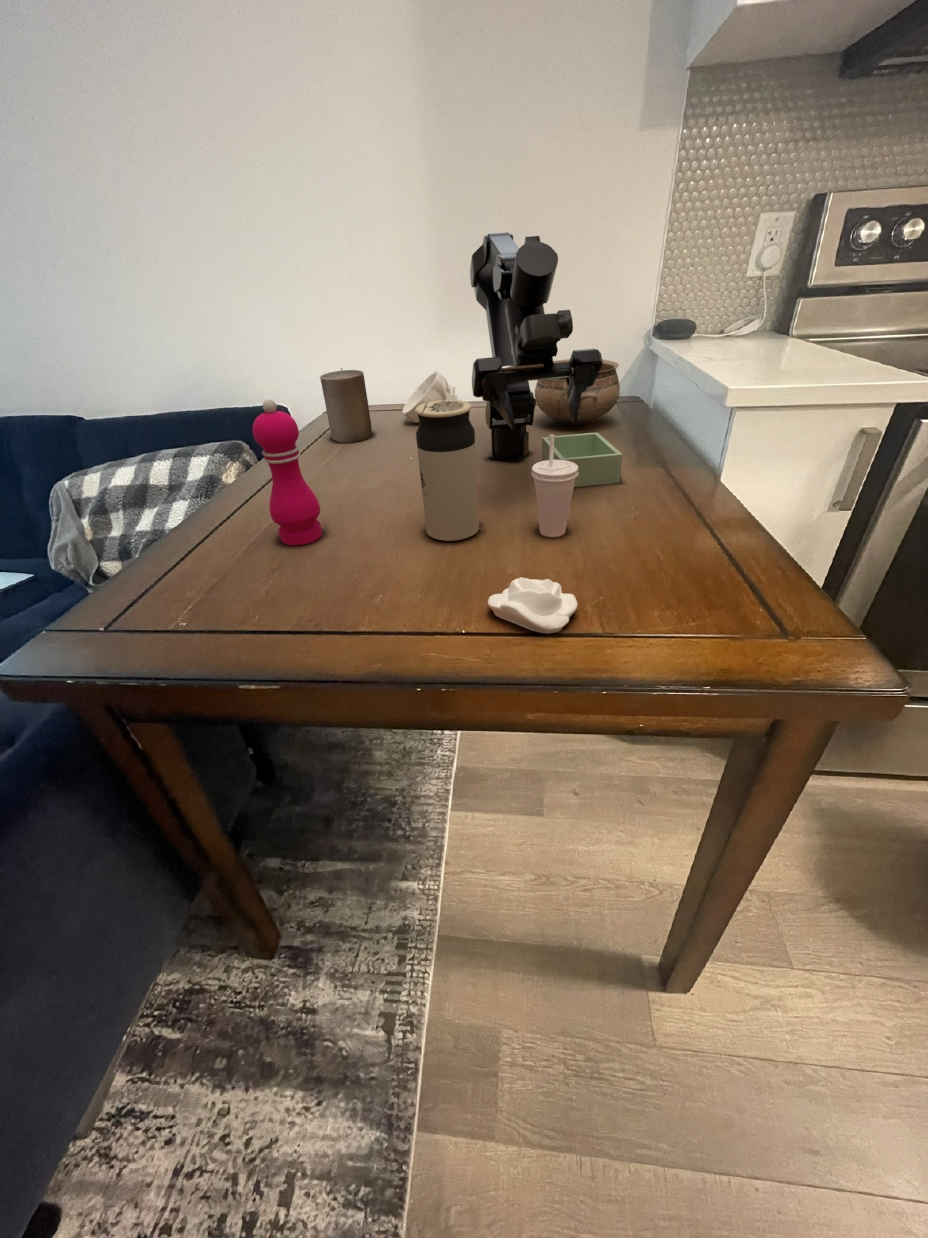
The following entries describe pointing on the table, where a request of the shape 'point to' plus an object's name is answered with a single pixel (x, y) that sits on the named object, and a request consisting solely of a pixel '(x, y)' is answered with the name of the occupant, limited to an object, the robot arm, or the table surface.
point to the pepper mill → (287, 477)
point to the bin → (587, 457)
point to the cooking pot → (592, 400)
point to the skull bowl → (429, 394)
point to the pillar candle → (347, 405)
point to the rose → (534, 605)
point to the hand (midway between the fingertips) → (544, 424)
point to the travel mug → (448, 469)
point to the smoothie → (553, 492)
